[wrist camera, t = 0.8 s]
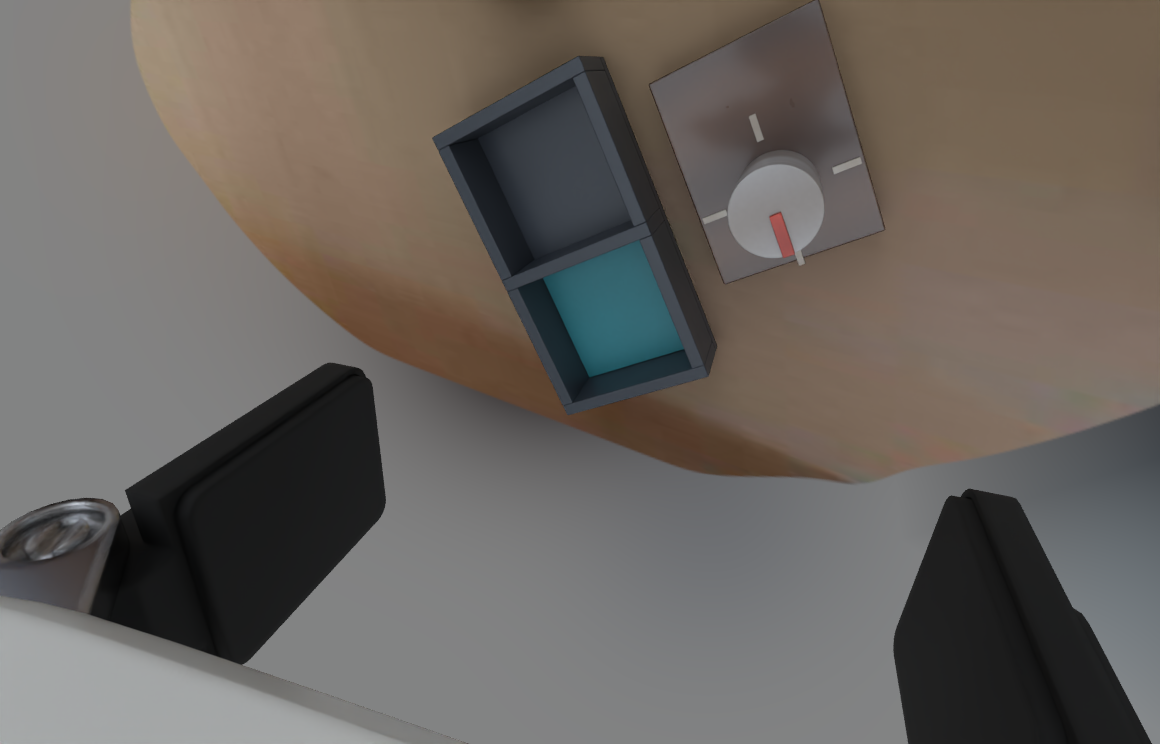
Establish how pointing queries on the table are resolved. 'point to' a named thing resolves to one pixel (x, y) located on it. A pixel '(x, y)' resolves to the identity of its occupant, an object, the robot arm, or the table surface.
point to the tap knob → (776, 205)
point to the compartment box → (580, 237)
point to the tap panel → (768, 132)
